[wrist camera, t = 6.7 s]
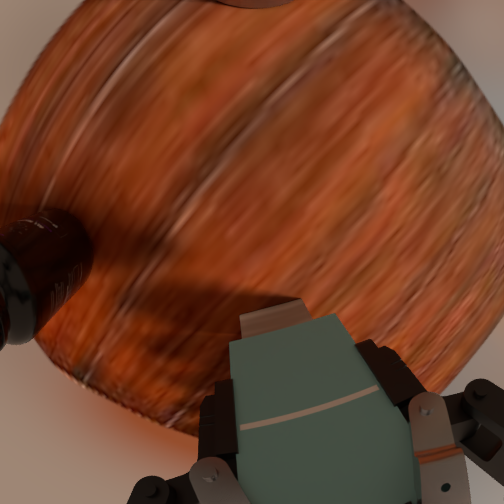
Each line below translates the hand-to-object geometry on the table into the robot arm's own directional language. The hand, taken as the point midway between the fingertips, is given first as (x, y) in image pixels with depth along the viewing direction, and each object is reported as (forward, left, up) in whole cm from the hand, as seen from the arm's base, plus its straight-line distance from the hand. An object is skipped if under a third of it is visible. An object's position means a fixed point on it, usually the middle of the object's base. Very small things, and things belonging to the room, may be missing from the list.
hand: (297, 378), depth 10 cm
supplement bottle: (-6, -15, -11) cm, 20 cm away
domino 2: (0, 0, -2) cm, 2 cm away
